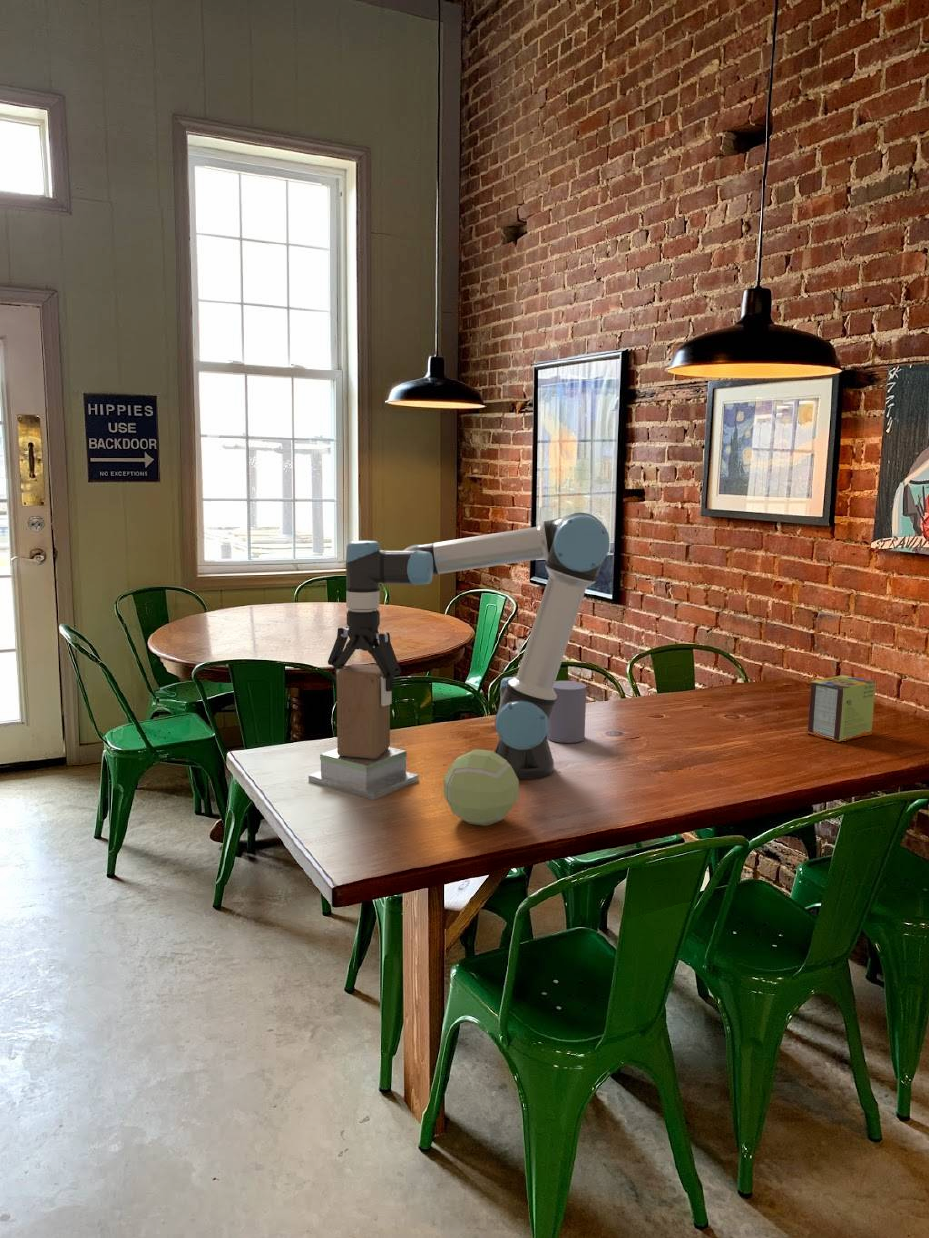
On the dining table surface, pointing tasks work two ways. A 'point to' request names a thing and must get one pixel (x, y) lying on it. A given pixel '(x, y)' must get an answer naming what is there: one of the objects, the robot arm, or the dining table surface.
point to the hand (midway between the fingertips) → (363, 700)
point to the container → (568, 713)
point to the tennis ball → (481, 787)
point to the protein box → (841, 707)
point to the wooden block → (361, 713)
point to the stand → (364, 773)
